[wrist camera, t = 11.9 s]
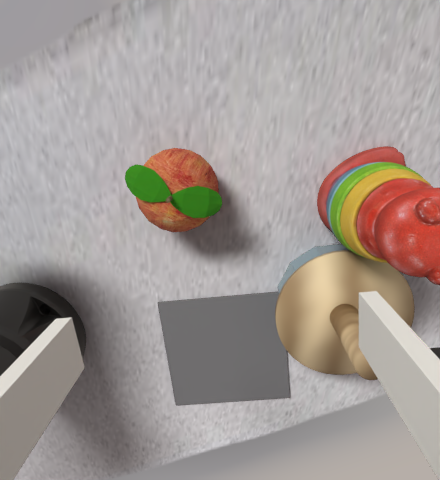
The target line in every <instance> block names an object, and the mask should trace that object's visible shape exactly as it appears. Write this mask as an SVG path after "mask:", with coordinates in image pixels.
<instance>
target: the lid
mask: <svg viewBox="0 0 440 480" xmlns="http://www.w3.org/2000/svg"><path fill="white" fill-rule="evenodd" d="M371 291H377V292H378V293H379V294H380V295H381V297H382V298H383V299H384V300H385V301H386V302H387V303H388V304H389V305H390V306H391V307H392V308H393V310H394V311H395V312H396V313H397V314H398V315H399V316H400V317H401V318H402V319H403V320H404V321H405V322H406V324H407V325H408V326H409V327H410V328H411V326H412V323H413V318H414V299H413V295H412V292H411V289H410V287H409V285H408V283H407V281H406V279H405V278H404V277H403V275H402V274H401V273H400V272H399V271H398V270H396V269H395V268H393V267H392V266H391V265H390V264H389V263H384V262H378V261H374V260H371V259H368V258H365V257H362V256H360V255H357V254H355V253H354V252H352V251H350V250H340V251H333V252H329V253H325V254H322V255H320V256H317V257H315V258H313V259H311V260H309V261H308V262H306V263H305V264H303V265H302V266H300V267H299V268H298V269H297V270H296V271H295V272H294V273H293V274H292V275H291V276H290V277H289V278H288V280H287V281H286V282H285V284H284V285H283V287H282V289H281V291H280V293H279V296H278V299H277V303H276V309H275V320H276V327H277V331H278V334H279V337H280V340H281V342H282V344H283V345H284V347H285V349H286V350H287V351H288V352H289V354H290V355H291V356H292V357H293V358H295V359H296V360H297V361H298V362H300V363H301V364H303V365H304V366H306V367H308V368H310V369H313V370H315V371H318V372H322V373H326V374H335V375H344V374H353V373H358V374H359V375H360V376H361V377H362V378H364V379H367V380H377V379H378V378H377V376H376V375H375V373H374V371H373V370H372V368H371V366H370V365H369V363H368V361H367V360H366V358H365V356H364V355H363V353H362V351H361V350H360V348H359V293H360V292H371Z"/></svg>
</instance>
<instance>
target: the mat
mask: <svg viewBox="0 0 440 480" xmlns="http://www.w3.org/2000/svg"><path fill="white" fill-rule="evenodd" d="M278 296H279V292H268V293H257V294H245V295H234V296H223V297H211V298H200V299H188V300H177V301H166V302H158V308H159V314H160V319H161V325H162V331H163V336H164V342H165V347H166V353H167V358H168V364H169V370H170V375H171V381H172V386H173V392H174V397H175V403H176V405H190V404H205V403H220V402H234V401H249V400H264V399H278V398H290V393H289V378H288V364H287V350H286V349H285V347H284V345H283V344H282V342H281V340H280V337H279V334H278V331H277V327H276V320H275V309H276V303H277V299H278Z"/></svg>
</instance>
